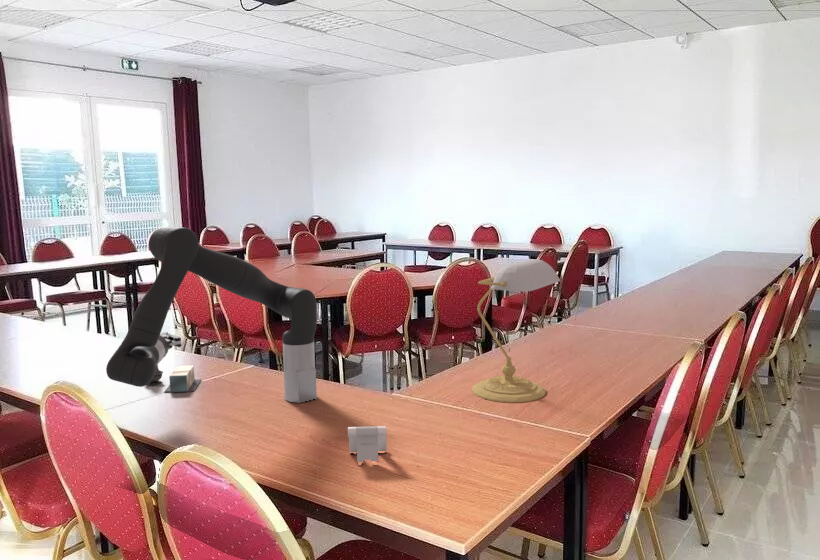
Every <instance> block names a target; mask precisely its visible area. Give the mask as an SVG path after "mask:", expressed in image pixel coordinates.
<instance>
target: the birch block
mask: <svg viewBox="0 0 820 560" xmlns="http://www.w3.org/2000/svg"><path fill="white" fill-rule="evenodd" d="M195 377H196V376H195V365H193V364H191V365H178V366H176V368H175V369H174V370H173V371H172V373H171V374H170V375H169V385H170V392H169V393H180V392H179V391H188V389H189V388H190V386H191V385H192V383H193V382H194V380H195V379H196V378H195Z"/></svg>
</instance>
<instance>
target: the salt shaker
mask: <svg viewBox="0 0 820 560" xmlns="http://www.w3.org/2000/svg"><path fill="white" fill-rule="evenodd" d="M158 364H159V363H158ZM158 364H157V365H156V366H155V373H154V376H153V379H152V380H151V382H150V383H149V384H148V385H146V386H145V387H156V386H157V387H158V386H160V385H162V384H163V381H161V378H162V377H163V373H164V372H163V371H162V370H160V369H159V365H158Z"/></svg>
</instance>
